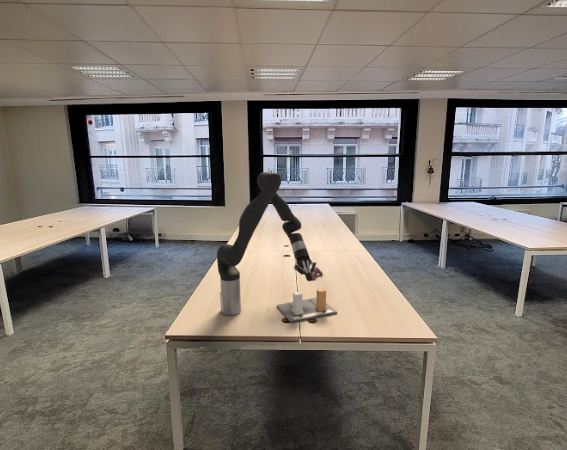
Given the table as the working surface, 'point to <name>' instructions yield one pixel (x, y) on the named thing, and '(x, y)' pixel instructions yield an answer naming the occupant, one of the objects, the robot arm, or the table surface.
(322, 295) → the orange tab
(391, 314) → the table surface
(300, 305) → the white slide tab
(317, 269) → the video game controller
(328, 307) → the switch panel
